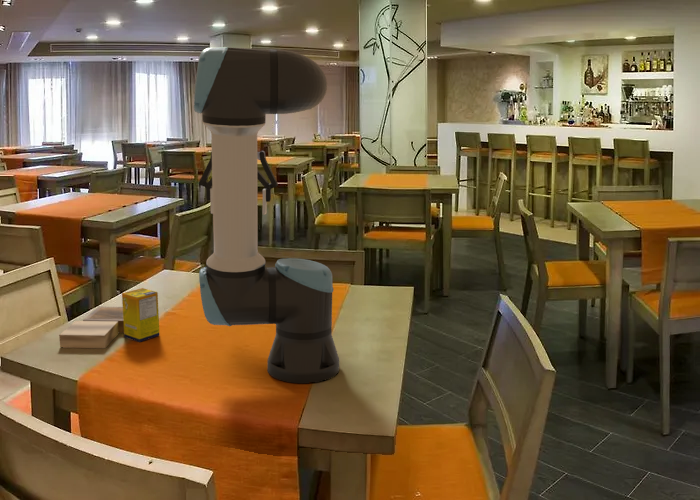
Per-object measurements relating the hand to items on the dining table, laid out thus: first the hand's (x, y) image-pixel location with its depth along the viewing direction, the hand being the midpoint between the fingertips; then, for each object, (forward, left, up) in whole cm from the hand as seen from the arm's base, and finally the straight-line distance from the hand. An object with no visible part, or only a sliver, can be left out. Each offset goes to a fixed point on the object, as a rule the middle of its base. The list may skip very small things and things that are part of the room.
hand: (238, 213), depth 177 cm
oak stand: (-26, +31, -26) cm, 48 cm away
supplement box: (-23, +20, -26) cm, 41 cm away
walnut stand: (-15, +29, -26) cm, 42 cm away
